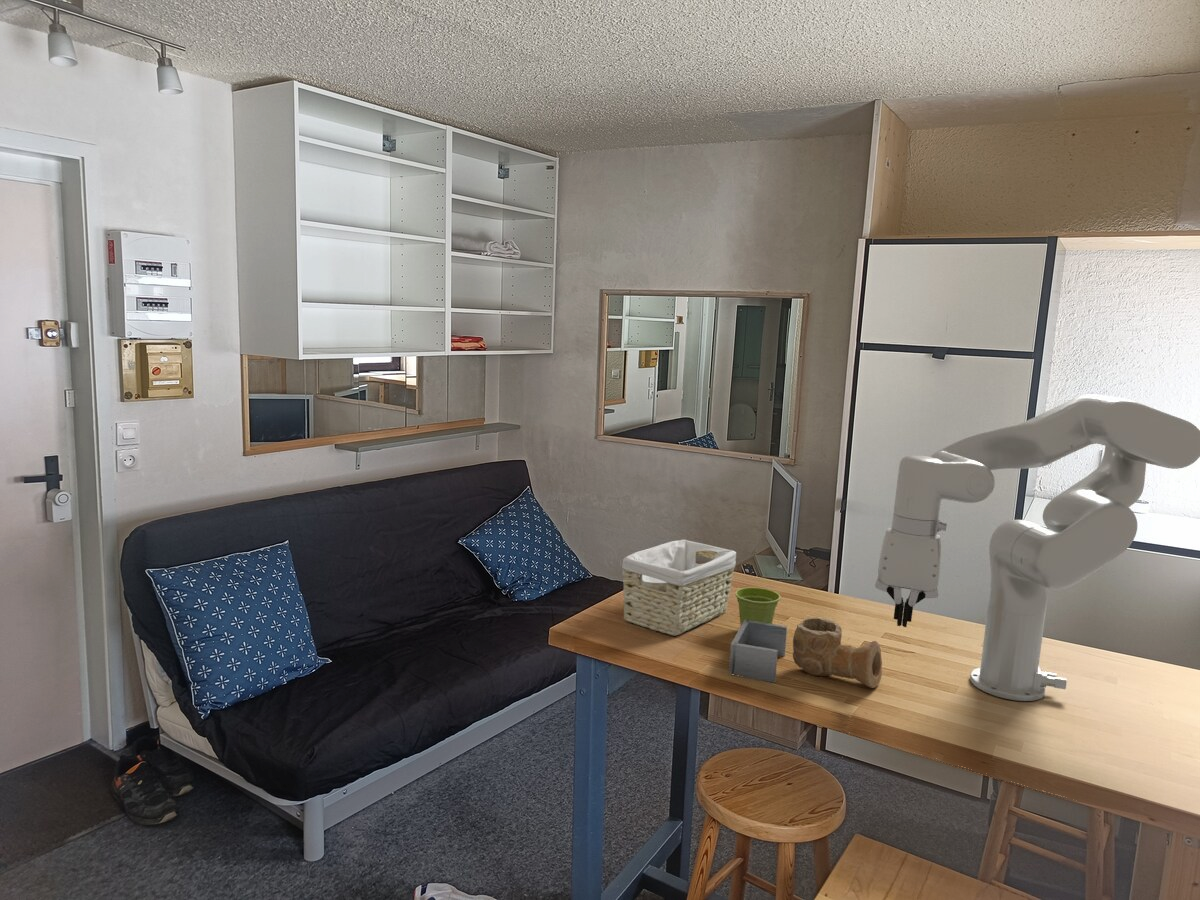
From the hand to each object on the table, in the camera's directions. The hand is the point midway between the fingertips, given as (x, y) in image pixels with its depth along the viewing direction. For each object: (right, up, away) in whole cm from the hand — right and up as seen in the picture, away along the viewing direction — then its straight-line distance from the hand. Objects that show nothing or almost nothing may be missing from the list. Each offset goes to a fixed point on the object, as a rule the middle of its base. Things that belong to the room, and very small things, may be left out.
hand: (901, 623), depth 150 cm
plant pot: (-22, -8, +27) cm, 35 cm away
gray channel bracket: (-24, -10, +11) cm, 28 cm away
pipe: (-11, -12, +6) cm, 17 cm away
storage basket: (-37, -6, +35) cm, 51 cm away
